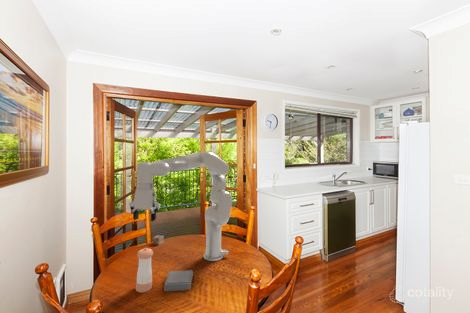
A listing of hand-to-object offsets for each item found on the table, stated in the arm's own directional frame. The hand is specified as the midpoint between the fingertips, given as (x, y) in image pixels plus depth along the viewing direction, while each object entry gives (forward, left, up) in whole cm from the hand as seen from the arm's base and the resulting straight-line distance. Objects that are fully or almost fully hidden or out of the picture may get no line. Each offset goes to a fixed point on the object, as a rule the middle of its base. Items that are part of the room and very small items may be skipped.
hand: (144, 220), depth 110 cm
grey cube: (+4, -46, -31) cm, 56 cm away
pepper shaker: (-2, +7, -31) cm, 32 cm away
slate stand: (-18, +4, -31) cm, 36 cm away
